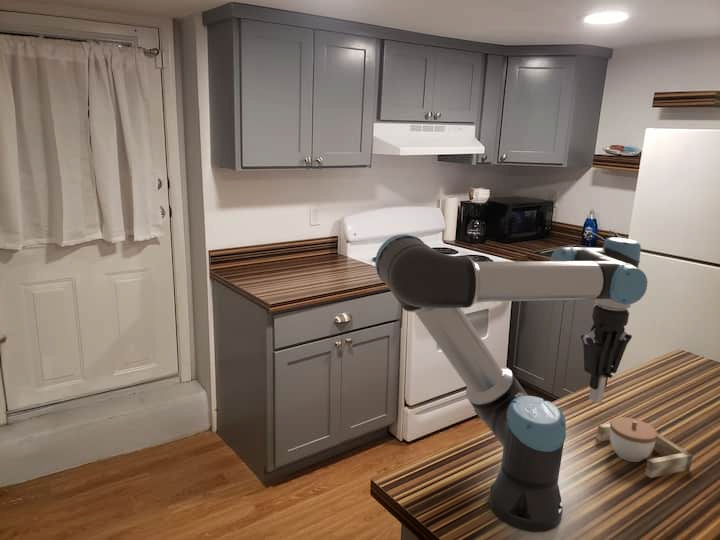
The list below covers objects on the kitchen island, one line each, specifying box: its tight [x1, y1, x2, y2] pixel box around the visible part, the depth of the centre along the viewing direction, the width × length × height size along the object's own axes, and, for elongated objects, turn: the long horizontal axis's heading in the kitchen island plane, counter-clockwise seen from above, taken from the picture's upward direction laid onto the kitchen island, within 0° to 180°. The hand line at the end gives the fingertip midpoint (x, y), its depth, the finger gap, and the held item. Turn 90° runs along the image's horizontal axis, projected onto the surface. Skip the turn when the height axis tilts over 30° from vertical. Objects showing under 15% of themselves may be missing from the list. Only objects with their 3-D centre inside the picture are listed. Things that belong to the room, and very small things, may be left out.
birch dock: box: [595, 422, 693, 479], centre depth 143 cm, size 12×18×4 cm
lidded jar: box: [609, 416, 659, 463], centre depth 142 cm, size 11×11×9 cm
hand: (595, 400), depth 134 cm, fingers closed
